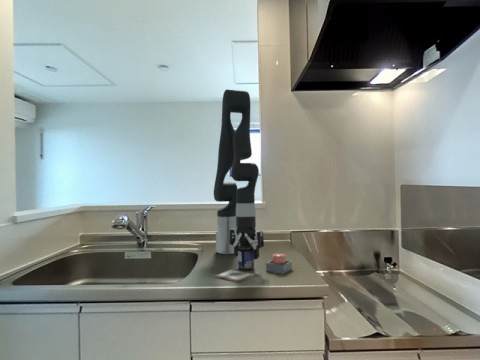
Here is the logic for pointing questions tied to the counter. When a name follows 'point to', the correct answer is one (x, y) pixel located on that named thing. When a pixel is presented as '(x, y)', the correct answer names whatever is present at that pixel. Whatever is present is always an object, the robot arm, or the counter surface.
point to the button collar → (279, 267)
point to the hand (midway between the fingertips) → (246, 257)
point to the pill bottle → (245, 256)
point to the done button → (279, 259)
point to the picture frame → (235, 275)
